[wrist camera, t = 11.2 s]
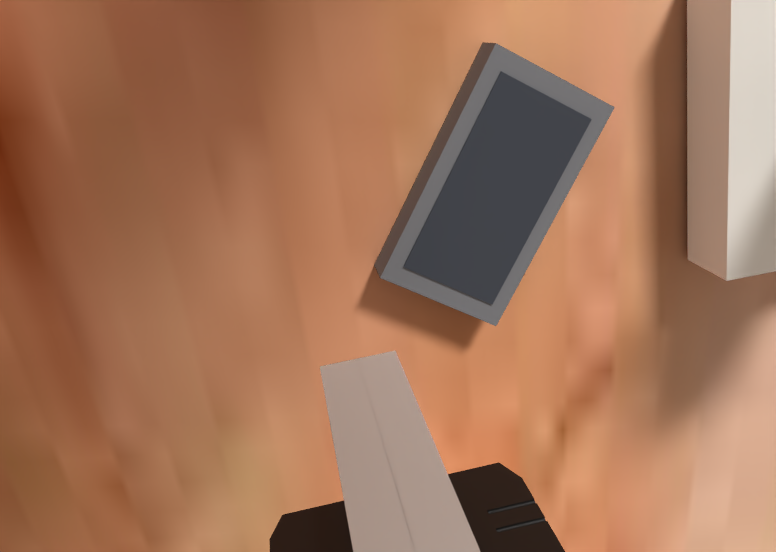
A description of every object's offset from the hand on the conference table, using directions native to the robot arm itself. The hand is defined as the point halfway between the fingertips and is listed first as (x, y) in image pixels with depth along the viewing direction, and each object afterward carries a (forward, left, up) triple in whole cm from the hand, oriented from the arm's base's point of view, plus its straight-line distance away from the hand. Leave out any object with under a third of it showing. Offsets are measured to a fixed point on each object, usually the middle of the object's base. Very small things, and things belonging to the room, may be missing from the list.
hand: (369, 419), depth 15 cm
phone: (0, +7, -17) cm, 19 cm away
